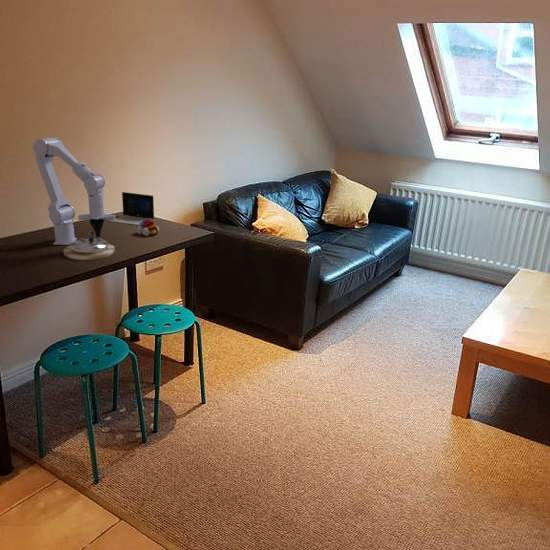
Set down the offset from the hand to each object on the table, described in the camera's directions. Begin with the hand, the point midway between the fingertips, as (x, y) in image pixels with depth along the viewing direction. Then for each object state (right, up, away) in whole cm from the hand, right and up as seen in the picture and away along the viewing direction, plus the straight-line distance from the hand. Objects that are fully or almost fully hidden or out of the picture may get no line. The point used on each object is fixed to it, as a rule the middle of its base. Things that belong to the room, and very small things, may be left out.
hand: (98, 236), depth 230 cm
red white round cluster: (+15, +3, +25) cm, 29 cm away
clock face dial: (-2, -5, -5) cm, 7 cm away
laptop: (+2, +11, +46) cm, 47 cm away
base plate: (-2, -7, -4) cm, 8 cm away
